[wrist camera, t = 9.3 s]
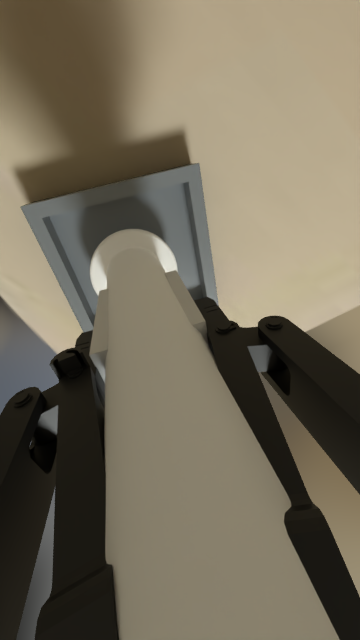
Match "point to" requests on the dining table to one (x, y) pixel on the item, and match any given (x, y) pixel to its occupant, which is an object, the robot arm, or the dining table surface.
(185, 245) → the tray
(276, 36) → the dining table surface
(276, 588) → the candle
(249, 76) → the dining table surface
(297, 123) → the dining table surface
